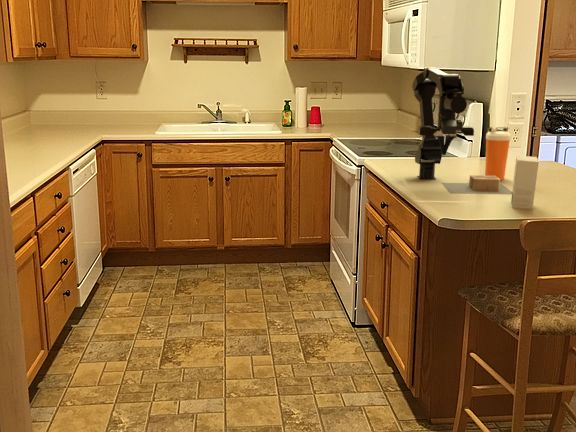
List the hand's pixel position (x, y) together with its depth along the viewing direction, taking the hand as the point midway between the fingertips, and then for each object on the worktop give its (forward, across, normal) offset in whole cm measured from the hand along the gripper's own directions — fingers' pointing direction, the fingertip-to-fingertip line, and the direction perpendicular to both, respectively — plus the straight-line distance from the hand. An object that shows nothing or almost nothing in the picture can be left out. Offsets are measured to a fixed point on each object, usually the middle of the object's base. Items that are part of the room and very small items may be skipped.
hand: (443, 154), depth 229 cm
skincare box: (+12, +21, -26) cm, 36 cm away
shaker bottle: (+12, +23, +17) cm, 31 cm away
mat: (+12, +12, -2) cm, 17 cm away
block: (+10, +10, -2) cm, 14 cm away
